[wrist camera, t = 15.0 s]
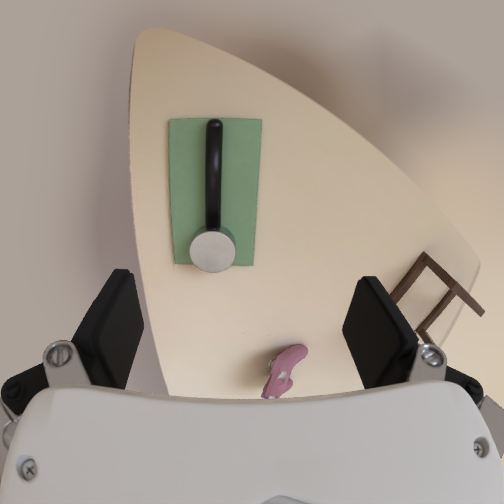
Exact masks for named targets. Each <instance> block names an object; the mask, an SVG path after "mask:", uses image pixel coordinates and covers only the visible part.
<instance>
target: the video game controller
mask: <svg viewBox="0 0 504 504" xmlns="http://www.w3.org/2000/svg"><path fill="white" fill-rule="evenodd" d="M307 354H308V349H307V347H306V346H304V345H294V346H291V347H289V348H287V349H286V350H284V351H283V352H282V353H281V354H279V355H278V357H277V358H276V359H275V360H274V361H272V360H273V359H271V360H270V362H269V367H270V365H271V371H270V375H271V376H270V378H269V380H268V382H267V383H266V384H265V386H264V388H263V393H262V395H261V397H262V398H265V399H277V398H279V397H280V396H281V395H282V394H283V393H285V392H286V391H288V390H289V389H290V388H291V387H292V385H293V381H292V380H291V379H290V378H289V376H290V374H291V370H292V368H293V367H294V366H295V365H296V364H297V363H298V362H299V361H301V360H302V359H303V358H305V357H306V355H307Z"/></svg>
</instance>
